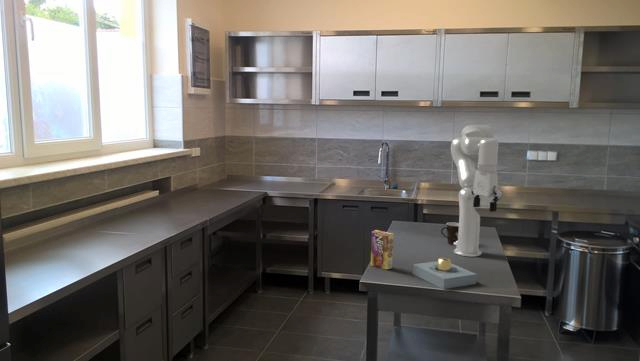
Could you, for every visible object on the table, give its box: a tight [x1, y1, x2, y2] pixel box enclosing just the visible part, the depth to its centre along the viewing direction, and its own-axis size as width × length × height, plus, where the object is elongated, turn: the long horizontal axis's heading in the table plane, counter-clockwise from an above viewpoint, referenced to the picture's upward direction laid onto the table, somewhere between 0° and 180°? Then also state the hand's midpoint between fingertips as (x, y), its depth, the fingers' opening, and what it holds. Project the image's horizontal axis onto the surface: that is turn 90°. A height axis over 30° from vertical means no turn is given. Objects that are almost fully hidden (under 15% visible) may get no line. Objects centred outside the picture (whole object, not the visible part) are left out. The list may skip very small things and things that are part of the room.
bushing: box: [437, 257, 452, 272], centre depth 212 cm, size 5×5×8 cm
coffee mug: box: [440, 221, 459, 246], centre depth 269 cm, size 12×9×10 cm
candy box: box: [370, 229, 395, 270], centre depth 226 cm, size 9×4×15 cm, turn 47°
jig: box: [412, 260, 478, 290], centre depth 213 cm, size 20×16×4 cm
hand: (484, 209), depth 223 cm, fingers open, 9 cm apart
